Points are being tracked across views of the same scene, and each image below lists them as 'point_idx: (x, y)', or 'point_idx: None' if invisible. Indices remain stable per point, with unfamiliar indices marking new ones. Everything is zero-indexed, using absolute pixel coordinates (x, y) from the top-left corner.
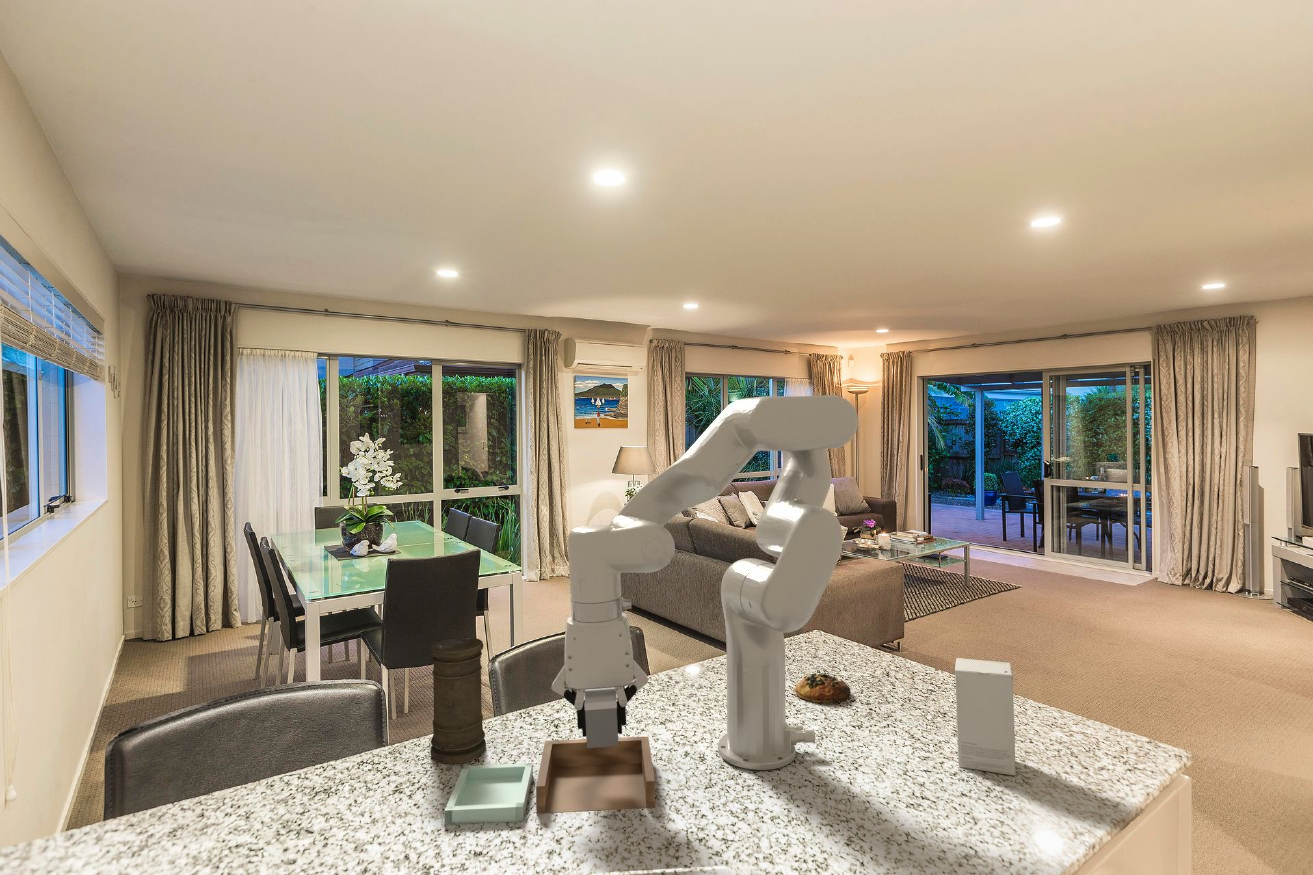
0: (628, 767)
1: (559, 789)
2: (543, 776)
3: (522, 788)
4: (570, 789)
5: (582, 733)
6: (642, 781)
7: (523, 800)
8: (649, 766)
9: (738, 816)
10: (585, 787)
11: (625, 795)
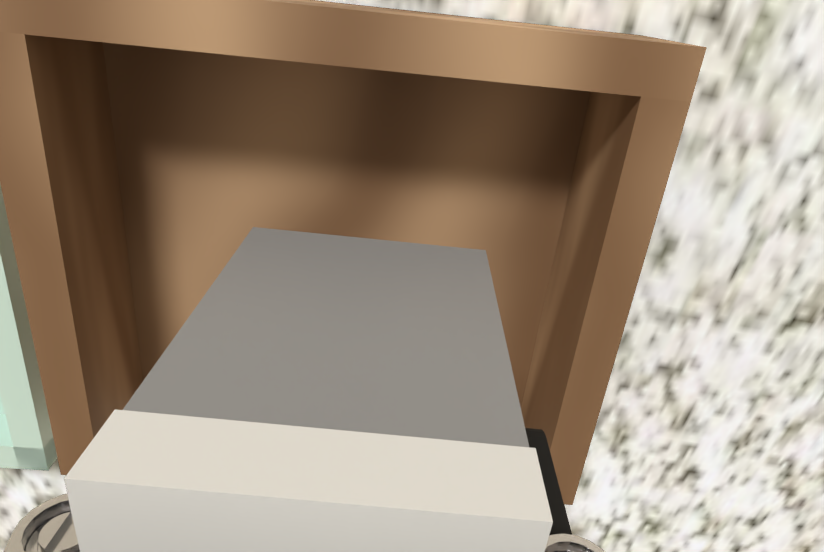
0: (516, 109)
1: (176, 256)
2: (74, 408)
3: (2, 352)
4: (226, 263)
5: None
6: (550, 254)
7: (37, 433)
8: (587, 399)
9: (794, 492)
10: None
11: None
